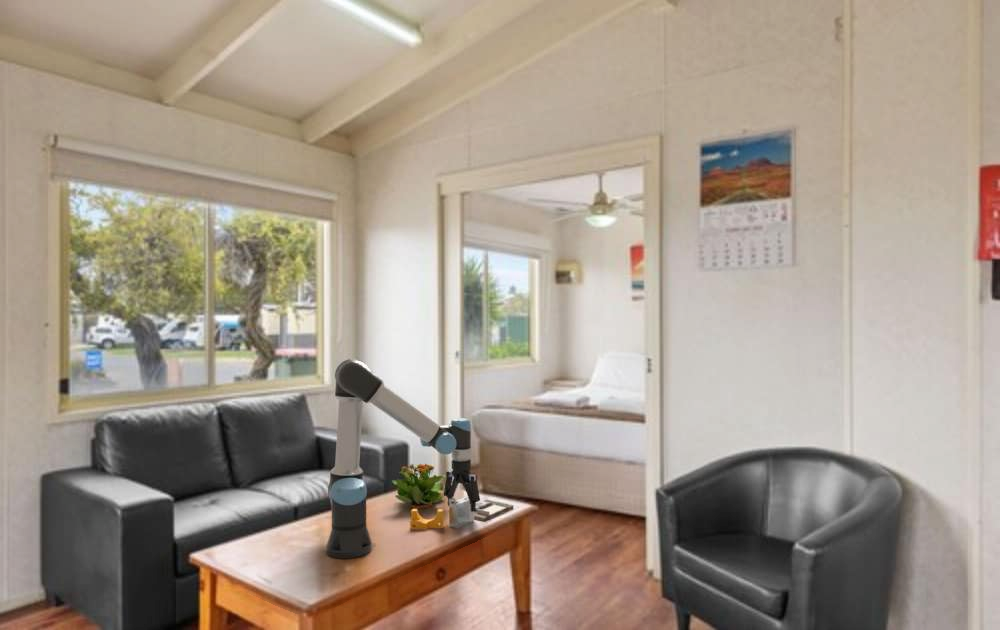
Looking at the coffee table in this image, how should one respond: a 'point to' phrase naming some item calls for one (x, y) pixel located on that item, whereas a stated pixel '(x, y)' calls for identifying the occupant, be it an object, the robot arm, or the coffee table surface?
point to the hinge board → (487, 504)
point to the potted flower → (419, 487)
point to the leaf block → (459, 512)
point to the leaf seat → (493, 508)
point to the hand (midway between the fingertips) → (461, 517)
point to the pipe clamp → (421, 523)
